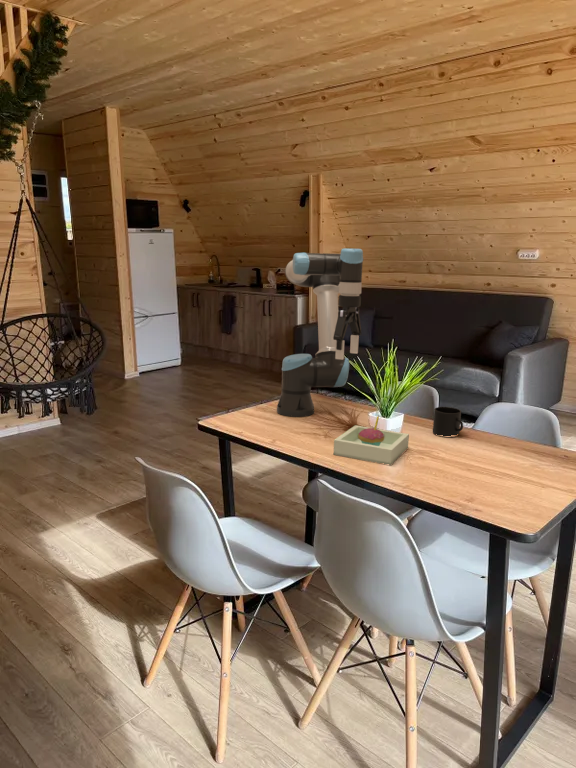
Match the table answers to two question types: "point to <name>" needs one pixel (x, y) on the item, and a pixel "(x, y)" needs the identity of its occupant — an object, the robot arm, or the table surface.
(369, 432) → the cupcake
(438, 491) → the table surface
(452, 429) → the mug
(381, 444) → the serving bin
